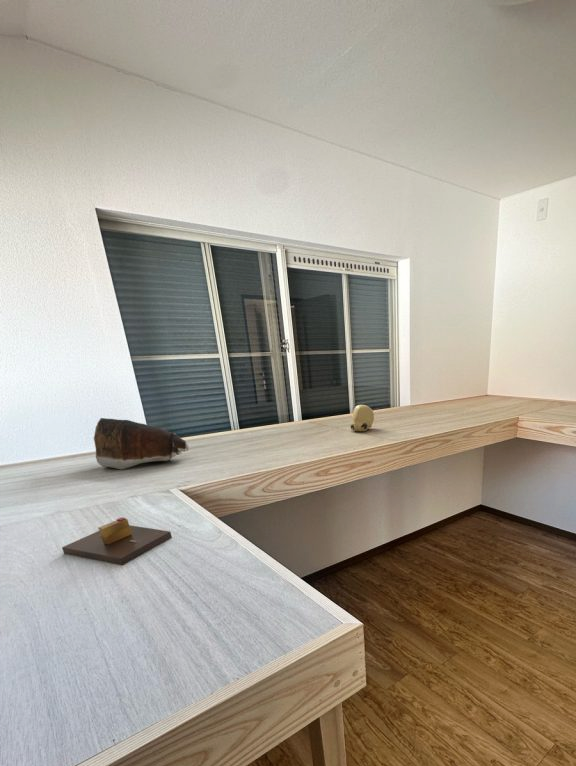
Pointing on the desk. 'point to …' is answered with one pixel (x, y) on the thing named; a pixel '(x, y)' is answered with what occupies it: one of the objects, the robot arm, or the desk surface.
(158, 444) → the brown tapered piece
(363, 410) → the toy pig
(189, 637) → the desk surface
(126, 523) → the lock turn
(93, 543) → the plate
